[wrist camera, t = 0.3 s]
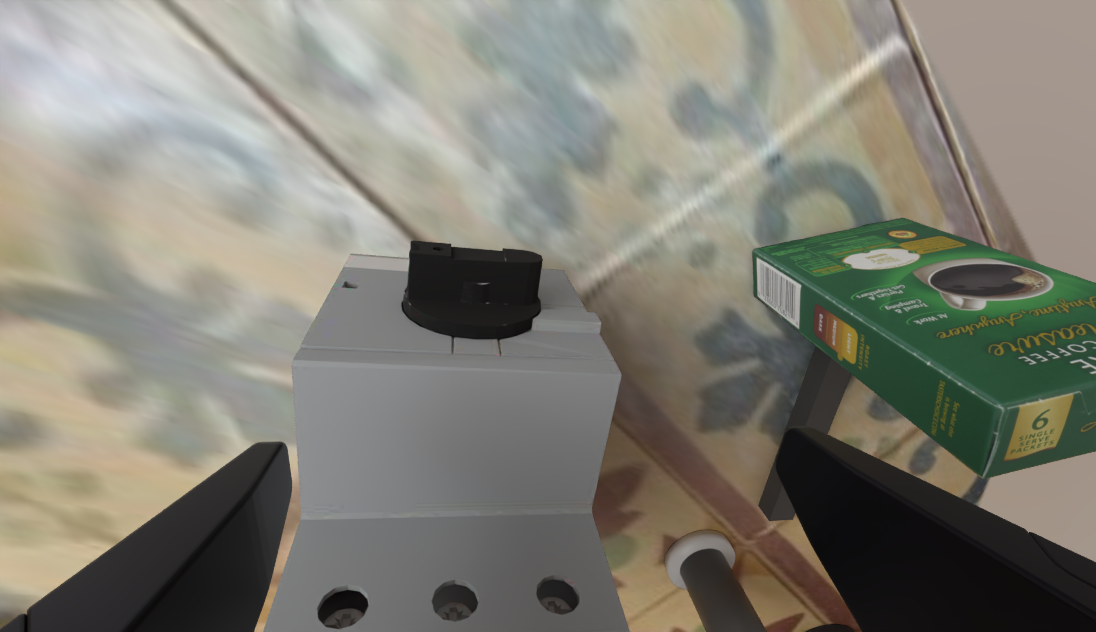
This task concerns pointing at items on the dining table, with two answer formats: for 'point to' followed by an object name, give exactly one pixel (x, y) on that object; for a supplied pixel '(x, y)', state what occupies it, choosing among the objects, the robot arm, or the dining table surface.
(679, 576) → the cord spool
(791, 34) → the dining table surface
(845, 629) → the travel mug
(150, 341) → the dining table surface
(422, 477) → the circuit breaker
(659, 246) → the dining table surface
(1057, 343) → the coffee box
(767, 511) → the dark grey rectangular bar
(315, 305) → the dining table surface
